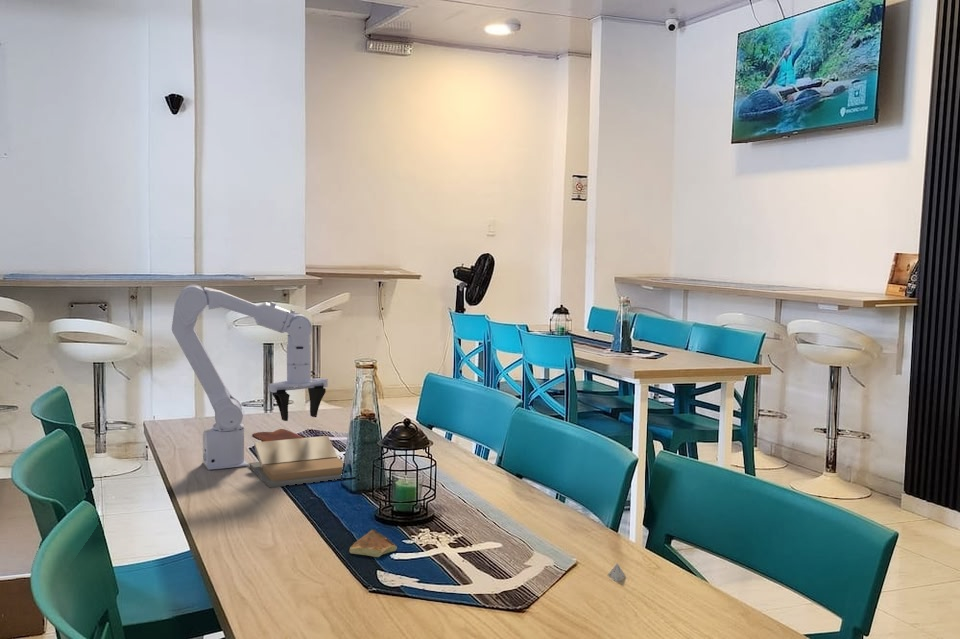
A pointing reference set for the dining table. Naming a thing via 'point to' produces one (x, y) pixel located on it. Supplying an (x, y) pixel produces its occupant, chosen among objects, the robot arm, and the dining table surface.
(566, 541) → the dining table surface
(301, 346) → the robot arm
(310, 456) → the ash plank
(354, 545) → the shard
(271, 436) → the wooden tablet
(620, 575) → the tetrahedral die
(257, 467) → the floor base
